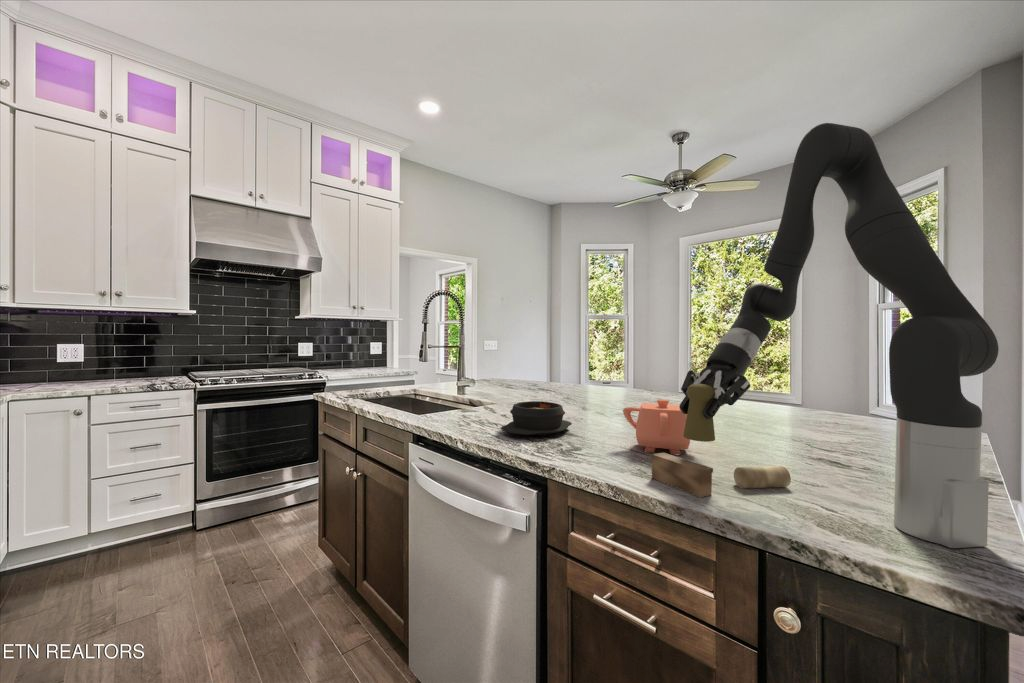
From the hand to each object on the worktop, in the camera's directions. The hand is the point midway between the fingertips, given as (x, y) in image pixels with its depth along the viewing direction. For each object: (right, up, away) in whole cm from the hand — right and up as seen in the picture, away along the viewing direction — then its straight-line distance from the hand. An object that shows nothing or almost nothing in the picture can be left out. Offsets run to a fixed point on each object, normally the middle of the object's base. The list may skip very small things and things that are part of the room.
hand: (694, 413), depth 87 cm
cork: (+1, -5, +1) cm, 6 cm away
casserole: (-29, -13, +45) cm, 55 cm away
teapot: (+3, -14, +26) cm, 30 cm away
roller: (+13, -11, -1) cm, 17 cm away
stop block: (-4, -14, -2) cm, 15 cm away
